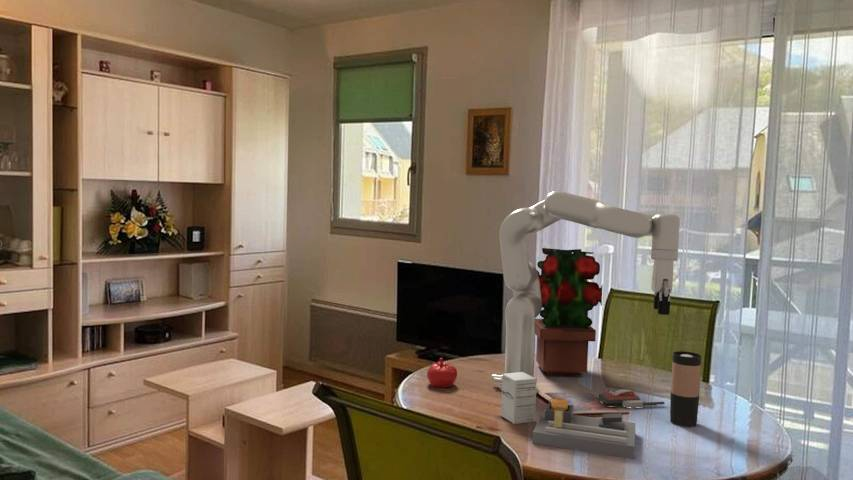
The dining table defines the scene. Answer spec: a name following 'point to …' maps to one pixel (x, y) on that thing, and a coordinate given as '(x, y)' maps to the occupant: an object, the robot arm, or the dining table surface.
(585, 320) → the potted plant
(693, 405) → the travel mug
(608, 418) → the black rocker
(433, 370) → the pomegranate
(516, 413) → the supplement box
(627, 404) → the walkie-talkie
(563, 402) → the orange button
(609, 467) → the dining table surface
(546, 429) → the panel
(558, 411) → the golden rectangular block
